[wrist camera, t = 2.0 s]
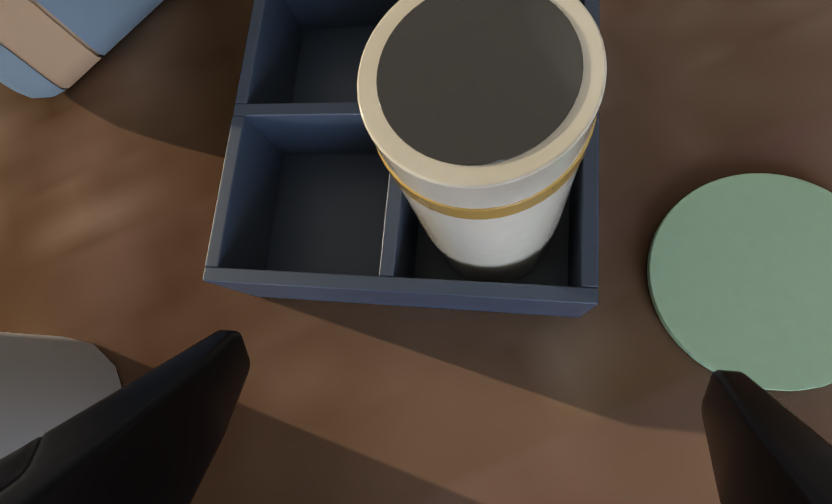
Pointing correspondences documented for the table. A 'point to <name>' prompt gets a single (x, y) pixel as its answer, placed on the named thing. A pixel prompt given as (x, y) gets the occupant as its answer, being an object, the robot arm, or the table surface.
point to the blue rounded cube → (60, 39)
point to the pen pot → (484, 121)
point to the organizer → (356, 186)
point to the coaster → (749, 278)
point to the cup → (47, 384)
